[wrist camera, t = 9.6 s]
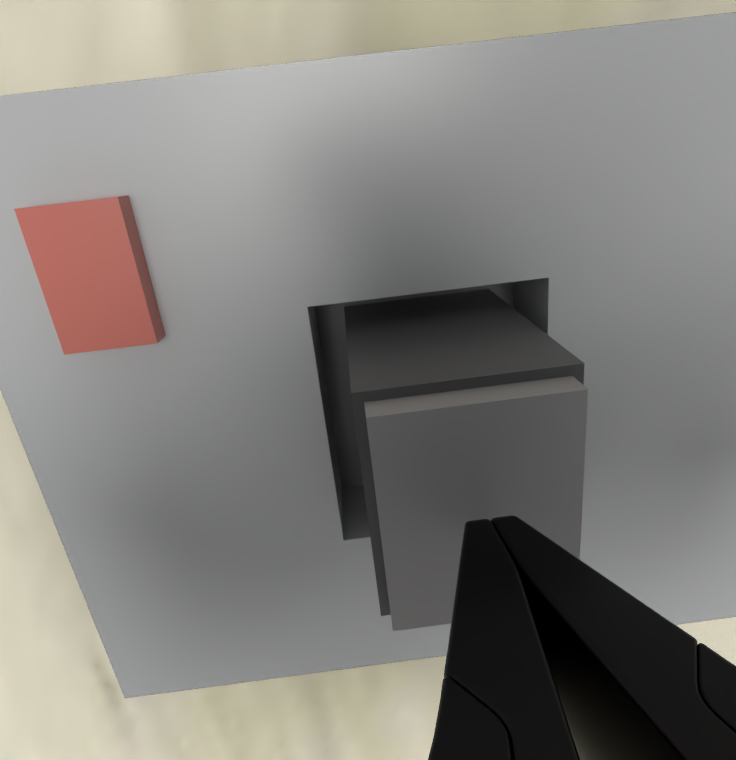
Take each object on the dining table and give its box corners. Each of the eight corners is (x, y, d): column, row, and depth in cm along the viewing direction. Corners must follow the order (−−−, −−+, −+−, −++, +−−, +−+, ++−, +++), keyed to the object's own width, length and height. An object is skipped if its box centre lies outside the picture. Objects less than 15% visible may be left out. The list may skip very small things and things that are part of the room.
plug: (488, 288, 15) (601, 376, 8) (492, 447, 16) (587, 612, 10) (344, 306, 15) (352, 407, 8) (364, 464, 16) (383, 640, 10)
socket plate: (795, 28, 13) (953, -19, 10) (709, 547, 19) (789, 627, 16) (-17, 121, 13) (-140, 104, 9) (155, 619, 19) (117, 717, 15)
